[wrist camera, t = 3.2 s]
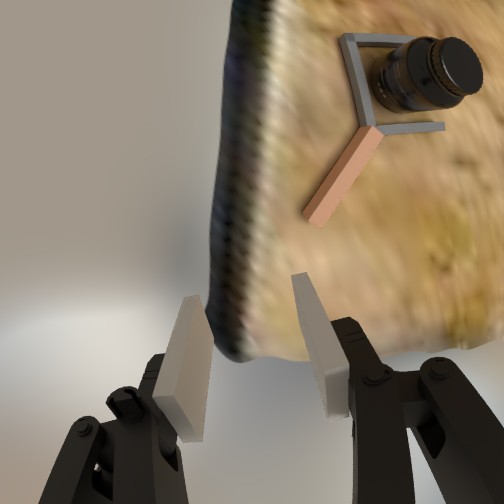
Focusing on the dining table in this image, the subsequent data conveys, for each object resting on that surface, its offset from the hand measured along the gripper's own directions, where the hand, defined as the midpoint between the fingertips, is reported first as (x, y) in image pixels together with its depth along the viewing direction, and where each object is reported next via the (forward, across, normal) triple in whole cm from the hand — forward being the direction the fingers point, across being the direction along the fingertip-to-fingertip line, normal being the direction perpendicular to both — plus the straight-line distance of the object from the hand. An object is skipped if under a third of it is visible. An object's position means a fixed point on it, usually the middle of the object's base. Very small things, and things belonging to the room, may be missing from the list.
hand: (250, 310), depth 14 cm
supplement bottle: (+17, +19, +12) cm, 28 cm away
